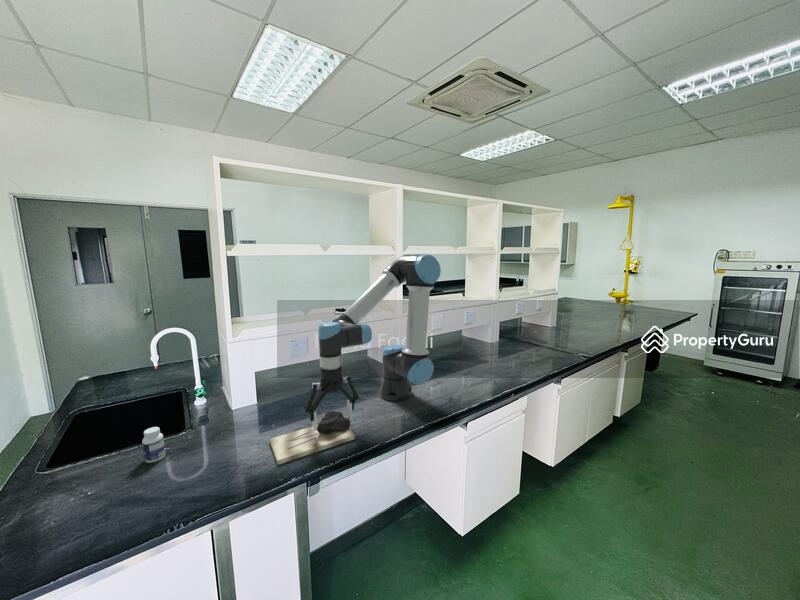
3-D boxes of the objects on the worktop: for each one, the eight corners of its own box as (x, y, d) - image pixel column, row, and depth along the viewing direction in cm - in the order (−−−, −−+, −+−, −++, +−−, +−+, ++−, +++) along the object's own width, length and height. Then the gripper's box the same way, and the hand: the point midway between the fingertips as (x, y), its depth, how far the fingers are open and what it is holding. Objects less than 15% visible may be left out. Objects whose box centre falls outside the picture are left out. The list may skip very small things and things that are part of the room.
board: (340, 421, 124) (340, 418, 124) (355, 438, 112) (354, 434, 112) (269, 442, 110) (269, 438, 110) (277, 464, 99) (277, 460, 98)
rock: (351, 425, 120) (327, 416, 122) (354, 413, 118) (329, 405, 120) (340, 446, 111) (314, 436, 112) (342, 433, 108) (315, 424, 110)
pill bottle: (143, 458, 103) (139, 429, 102) (164, 450, 107) (160, 423, 105) (145, 465, 99) (142, 436, 98) (166, 457, 103) (163, 429, 102)
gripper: (358, 357, 121) (359, 410, 124) (292, 369, 109) (295, 428, 111) (367, 363, 115) (368, 418, 118) (298, 376, 102) (301, 438, 105)
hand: (332, 423), depth 115 cm, fingers closed on rock, 12 cm apart
